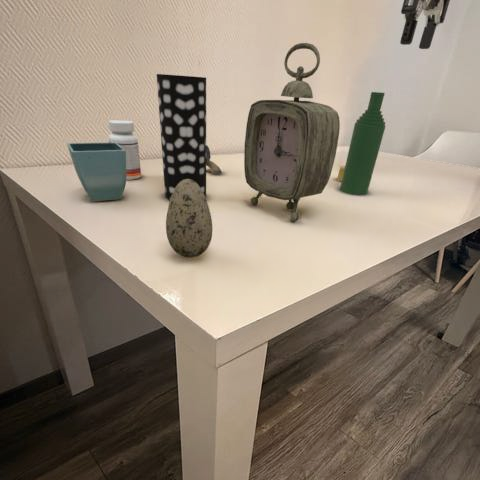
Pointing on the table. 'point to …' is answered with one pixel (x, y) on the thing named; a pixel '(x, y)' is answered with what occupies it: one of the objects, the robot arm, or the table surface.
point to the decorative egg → (188, 220)
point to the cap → (341, 173)
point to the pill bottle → (126, 146)
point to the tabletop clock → (291, 142)
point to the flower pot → (100, 169)
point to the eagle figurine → (212, 163)
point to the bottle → (364, 148)
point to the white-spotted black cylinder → (182, 129)
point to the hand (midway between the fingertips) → (414, 46)
